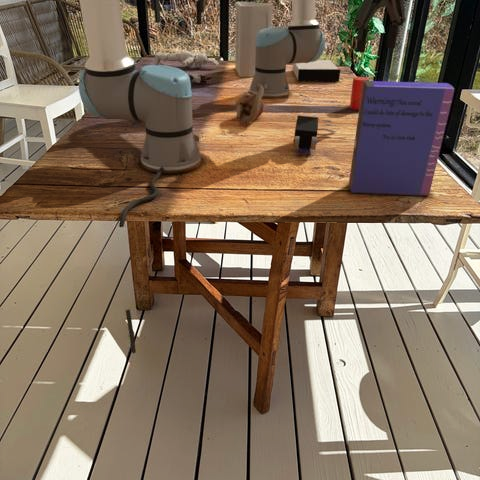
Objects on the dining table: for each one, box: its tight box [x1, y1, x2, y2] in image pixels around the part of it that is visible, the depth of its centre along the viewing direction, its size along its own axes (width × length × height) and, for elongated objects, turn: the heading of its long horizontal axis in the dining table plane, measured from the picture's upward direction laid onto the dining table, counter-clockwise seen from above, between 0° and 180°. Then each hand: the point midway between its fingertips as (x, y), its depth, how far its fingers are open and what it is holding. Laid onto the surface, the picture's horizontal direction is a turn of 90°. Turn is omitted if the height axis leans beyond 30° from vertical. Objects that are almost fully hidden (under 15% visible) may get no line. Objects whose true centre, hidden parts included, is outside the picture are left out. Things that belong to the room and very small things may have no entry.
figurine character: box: [292, 115, 319, 156], centre depth 131 cm, size 7×8×15 cm
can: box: [349, 76, 370, 111], centre depth 167 cm, size 6×6×10 cm
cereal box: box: [348, 80, 455, 197], centre depth 104 cm, size 17×5×24 cm, turn 86°
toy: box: [153, 50, 220, 69], centre depth 224 cm, size 24×25×7 cm
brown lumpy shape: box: [234, 84, 265, 127], centre depth 152 cm, size 13×9×15 cm
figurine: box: [138, 63, 213, 85], centre depth 194 cm, size 24×8×30 cm
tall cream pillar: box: [234, 1, 274, 78], centre depth 210 cm, size 19×15×28 cm
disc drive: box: [292, 59, 341, 83], centre depth 211 cm, size 18×22×5 cm
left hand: (178, 23), depth 149 cm, fingers open, 13 cm apart
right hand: (375, 50), depth 146 cm, fingers open, 13 cm apart
